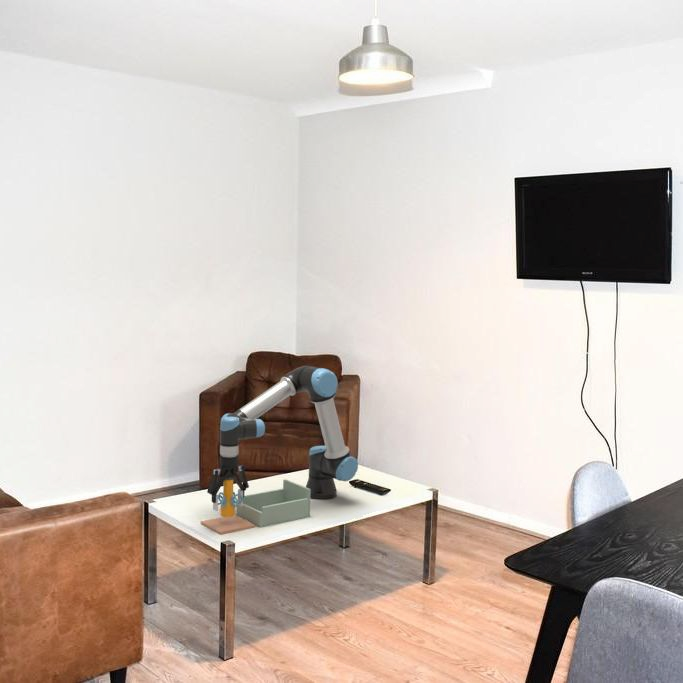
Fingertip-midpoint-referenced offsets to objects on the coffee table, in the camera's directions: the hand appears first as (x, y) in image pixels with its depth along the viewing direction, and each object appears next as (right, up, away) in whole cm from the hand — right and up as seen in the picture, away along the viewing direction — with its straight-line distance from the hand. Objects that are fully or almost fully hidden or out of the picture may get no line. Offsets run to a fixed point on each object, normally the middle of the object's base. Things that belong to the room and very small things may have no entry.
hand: (227, 507), depth 334 cm
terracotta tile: (0, -7, +1) cm, 7 cm away
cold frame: (+17, -7, +15) cm, 24 cm away
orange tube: (0, -3, 0) cm, 3 cm away
